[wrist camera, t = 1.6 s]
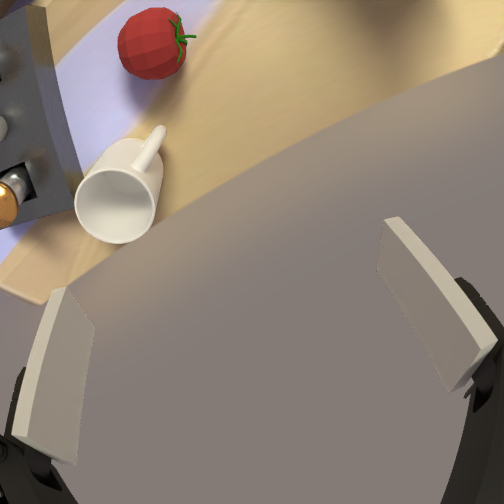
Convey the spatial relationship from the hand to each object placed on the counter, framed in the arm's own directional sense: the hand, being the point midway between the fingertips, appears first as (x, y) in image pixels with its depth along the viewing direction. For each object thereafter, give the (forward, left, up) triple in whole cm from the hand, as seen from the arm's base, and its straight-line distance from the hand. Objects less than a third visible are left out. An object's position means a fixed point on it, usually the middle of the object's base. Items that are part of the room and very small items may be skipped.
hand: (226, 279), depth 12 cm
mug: (+3, -9, -28) cm, 29 cm away
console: (-7, -24, -27) cm, 37 cm away
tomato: (-10, -4, -28) cm, 30 cm away
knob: (+1, -24, -24) cm, 34 cm away
